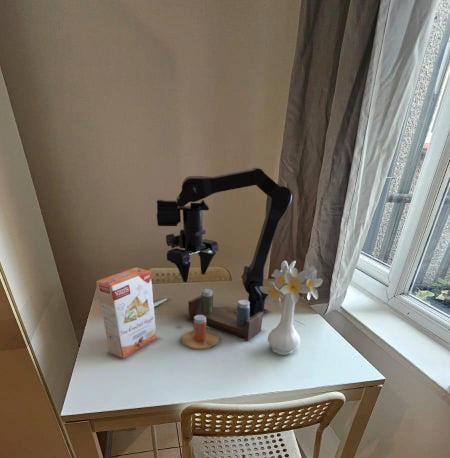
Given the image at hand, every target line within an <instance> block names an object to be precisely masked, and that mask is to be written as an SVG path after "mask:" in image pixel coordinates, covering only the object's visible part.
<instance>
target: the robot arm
mask: <svg viewBox="0 0 450 458" xmlns="http://www.w3.org/2000/svg"><path fill="white" fill-rule="evenodd" d="M252 186H256V187H257V188H258V189H259V190H261V191H262V192H263V193H264V194H265V195H266V200H265V217H264V220H263V224H262V226H261V231H260V234H259V237H258V241H257V244H256V247H255V251H254V253H253V257H252V260H251V263H249V266H246V265H244V267H243V273H242V275H241V276H240V278H241V280H242V285H243V287H244V290H245V292H246V293H247V294H248V297H247V301H249V302H250V313H249V316H251V317H252V316H254V315H255V314H257V313H259V312H262V313H263V315H265V314H266V313H268V309H266V308H265V305H266V304H265V299H266V297H267V296H268V295H269V294H265V293H263V292H262V291H261V290H260V289H259V287H260V286H264V281H265V266H266V264H267V260H268V257H269V254H270V252H271V251H270V250H271V247H272V244H273V241H274V239H275V237H276V236H275V235H276V232H277V229H278V226H279V223H280V221H281V220H282V219H283V217H284V215H285V214H286V213H287V210H288V209H289V206H290V204H291V202H292V198H293V195H292V192H291V190H290V189H289V187H287V186H285V185H283V184H281V183H277V182H275V181H274V180H273V179H272V178H271V177H270V176H269V175H267V173H265V171H264V170H263V169H262V168H259V167H253V168H251V169H245V170H241V171H235V172H231V173H230V172H229V173H226V174H225V173H224V174H220V175H214V176H207V175H206V176H205V175H203V176H202V175H189V176H186V177H185V178H184V179H183V180H182V183H181V191H180V193H178V196H176V199H175V200H165V199H157V200H156V222H157V226H158V227H178V225H179V224H180V223H182V225H183V226H182V227H183V228H182V229H180V230H179V234H178V235H175V234H174V233H169V234H166V235H165V242H166V245H167V246H168V247H171V249H169V250H168V251H166V261H168V262H170V263H172V264H174V265H175V266H176V268H177V270H178V272H179V275H180V276H181V279H182V282H183V283H187V282H188V279H189V273H190V268H191V261H190V259H191V256H192V255H195V254H198V257H199V261H200V264H199V265H200V273H201V275H204V276H205V274H206V273H207V272H208V268H209V266H210V264H211V262H212V260H213V259H214V256H215V255H216V254H217V252H219V244H218V242H217V241H216V240H212V239H206V238H204V237H203V236H204V235H205V234H206V229H204V228H203V227H204V225H203V219H204V218H203V211H210V207H209V205H208V204H207V203H206V202H205V199H206V198H208V197H210V196H211V195H215V194H218V193H222V192H227V191H232V190H236V189H242V188H247V187H252ZM199 201H200V202H199ZM189 203H190V205H188V204H189ZM181 211H182V219H181ZM178 247H179V248H178Z"/></svg>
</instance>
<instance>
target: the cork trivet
mask: <svg viewBox="0 0 450 458" xmlns="http://www.w3.org/2000/svg"><path fill="white" fill-rule="evenodd" d="M181 341H182V344H183V345H184V346H185V347H186V348H189V349H192V350H197V351H198V350H199V351H201V350H209V349H212V348H214V347H216V346H217V345H218V343H219V336H218V334H217V333H216V332H215V333H214V332H213V331H210V330H207V339H206V340H205V341H202V342H199V341H196V340H195V339H194V330H191V331H188V332H186V333H184V335H182V338H181Z"/></svg>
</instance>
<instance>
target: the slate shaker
mask: <svg viewBox="0 0 450 458" xmlns="http://www.w3.org/2000/svg"><path fill="white" fill-rule="evenodd" d="M236 308H237V309H236V315H237V324H238V325H240V326H246V320H248V319H249V318H250V315H249V313H250V302H249V301H248V299H240V300H238V302H237V307H236Z"/></svg>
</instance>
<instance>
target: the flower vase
mask: <svg viewBox="0 0 450 458" xmlns="http://www.w3.org/2000/svg"><path fill="white" fill-rule="evenodd" d="M296 263H297V261H296V260H293V261H292V262H291V263H290V264H288V261H287V260H283V261H281V264H280V269H278V268H277V269H275V270H273V273H271V277H272V278H274V279H275V280H273V281H272V280H268V281H267V286H264V285H263V286H260V287H259V289H260V290H261V291H262V292H263V293H265V294H268V296H267V297H266V299H265V304H264V305H266V306H270V305H271V304H272V303H274V305H275V306H276V308H277V309H278V310H281V309H282V313H281V316H280V320H279V323H278V324H277V326H276V327H274V328H273V329H272V330H271V331H270V332H269V333H268V335H267V343H268V345H269V346H270V347H271V350H272V351H273V352H274V353H275V354H278V355H280V356H281V355H282V356H287V355H290V354H292V353H293V351H295V350H296V349H297V348H298V347H299V346H300V345H301V337H300V335H299V333H298V331H297V330H296V329H295V326H294V315H295V306H296V304H297V303H298V302H299V299H300V294H306V298H307V300H308V301H310V300H311V298H312V297H313V299H315V300H318V299H319V292H318V290H317V288H318V287H320V286H322V284H323V278H317V276H318V269H316V267H315V266H314V265H311V266H310V263H309V261H308V259H306V258H305V270H303V271H300V272H299V270H298V269H297V268H296V267H295V266H296ZM305 279H306V283H303V282H304V281H305ZM281 299H283V307H282V303H281V302H282V301H281Z"/></svg>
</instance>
